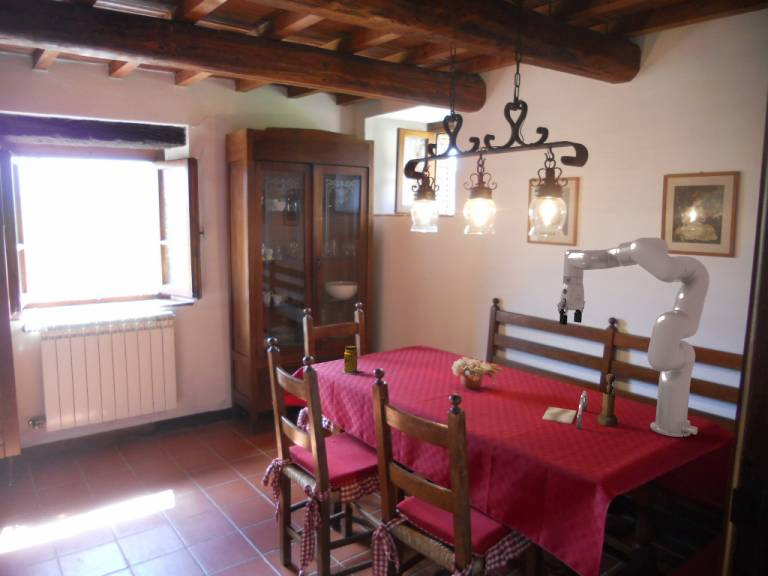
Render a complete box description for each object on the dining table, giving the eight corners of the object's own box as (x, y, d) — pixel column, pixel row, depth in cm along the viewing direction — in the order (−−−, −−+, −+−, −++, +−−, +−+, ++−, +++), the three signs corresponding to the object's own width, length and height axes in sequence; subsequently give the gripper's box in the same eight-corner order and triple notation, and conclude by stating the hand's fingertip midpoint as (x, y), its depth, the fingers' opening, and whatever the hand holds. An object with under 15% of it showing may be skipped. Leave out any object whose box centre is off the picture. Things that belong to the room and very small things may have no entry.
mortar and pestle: (594, 422, 205) (597, 373, 203) (602, 418, 209) (605, 370, 207) (612, 427, 200) (616, 377, 198) (620, 423, 205) (623, 374, 203)
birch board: (576, 412, 216) (576, 410, 216) (571, 423, 203) (571, 422, 203) (548, 408, 220) (548, 406, 220) (542, 419, 207) (542, 417, 207)
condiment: (340, 371, 266) (340, 346, 265) (354, 368, 272) (354, 343, 270) (350, 375, 261) (350, 349, 259) (364, 371, 267) (364, 346, 265)
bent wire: (586, 410, 218) (588, 386, 217) (580, 429, 198) (582, 402, 197) (583, 410, 218) (584, 385, 217) (576, 428, 199) (577, 401, 198)
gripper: (568, 283, 220) (565, 327, 222) (593, 280, 231) (591, 322, 233) (551, 281, 226) (549, 324, 228) (577, 279, 237) (574, 320, 239)
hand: (570, 323), depth 230 cm, fingers open, 9 cm apart
